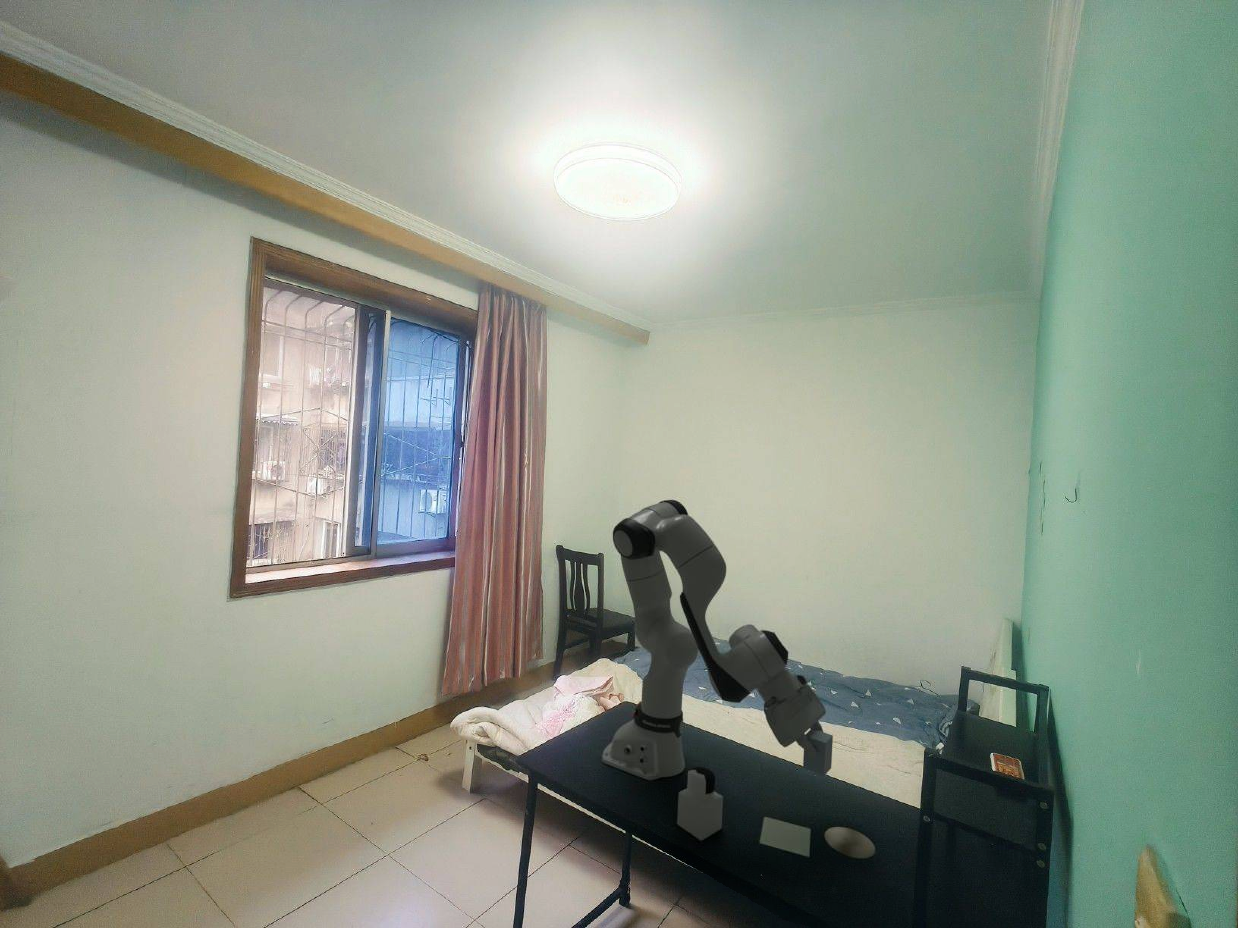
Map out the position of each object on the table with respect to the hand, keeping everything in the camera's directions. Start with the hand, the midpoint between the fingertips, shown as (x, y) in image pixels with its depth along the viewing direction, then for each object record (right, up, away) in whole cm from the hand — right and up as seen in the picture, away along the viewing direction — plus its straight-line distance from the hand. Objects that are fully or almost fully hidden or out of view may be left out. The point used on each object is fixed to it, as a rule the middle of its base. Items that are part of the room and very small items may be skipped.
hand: (820, 750), depth 117 cm
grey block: (-1, -4, 0) cm, 4 cm away
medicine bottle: (-27, -18, +1) cm, 32 cm away
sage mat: (-8, -18, -1) cm, 20 cm away
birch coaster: (+5, -19, -2) cm, 20 cm away
